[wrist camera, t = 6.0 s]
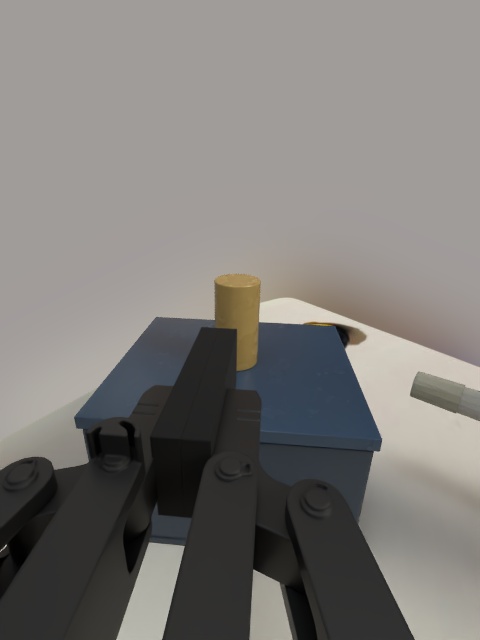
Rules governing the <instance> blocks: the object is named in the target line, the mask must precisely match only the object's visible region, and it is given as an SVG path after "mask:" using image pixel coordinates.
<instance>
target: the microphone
mask: <svg viewBox="0 0 480 640" xmlns="http://www.w3.org/2000/svg"><path fill="white" fill-rule="evenodd" d="M410 396H411V397H414V398H416V399H419V400H422V401H424V402H427V403H430V404H432V405H435V406H438V407H440V408H443V409H445V410H448V411H451V412H453V413H456V412H457V413H460V414H462V415H465V416H467V417H470V418H473V419H475V420H478V421H480V391H477V390H474V389H471V388H467V387H465V385H463V384H459V383H456V382H453V381H449V380H446V379H443V378H439V377H436V376H433V375H430V374H426V373H423V372H420V371H419V372H418V373H417V374H416V377H415V379H414V382H413V385H412V388H411V393H410Z"/></svg>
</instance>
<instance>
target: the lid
mask: <svg viewBox="0 0 480 640" xmlns="http://www.w3.org/2000/svg"><path fill="white" fill-rule="evenodd" d="M214 282H215V320H202V319H181V318H162V317H156V318H155V319H154V320H153V321H152V323H151V324H150V325H149V326H148V328H147V329H146V330H145V331H144V332H143V334H142V335H141V336H140V337H139V339H138V340H137V341H136V342H135V344H134V345H133V346H132V347H131V348H130V350H129V351H128V352H127V353H126V354H125V356H124V357H123V358H122V359H121V361H120V362H119V363H118V364H117V365H116V367H115V368H114V369H113V370H112V372H111V373H110V374H109V375H108V376H107V378H106V379H105V380H104V381H103V383H102V384H101V385H100V386H99V387H98V389H97V390H96V391H95V392H94V394H93V395H92V396H91V397H90V398H89V400H88V401H87V402H86V403H85V405H84V406H83V407H82V408H81V409H80V411H79V412H78V413H77V414H76V416H75V417H74V419H75V424H76V428H78V429H90V428H91V427H92V426H93V425H95V424H96V423H98V422H100V421H102V420H105V419H109V418H112V417H126V418H129V416H130V415H131V414H132V411H133V410H134V408H135V406H136V405H137V403H138V401H139V400H140V398H141V396H142V395H143V393H144V392H146V391H147V390H148V389H150V388H151V387H152V386H154V385H164V386H174V384H175V382H176V380H177V378H178V376H179V374H180V372H181V369H182V367H183V365H184V363H185V361H186V359H187V357H188V355H189V353H190V350H191V348H192V346H193V344H194V342H195V340H196V338H197V336H198V334H199V331H200V329H201V327H210V328H229V329H237V373H236V389H240V390H255V391H257V393H258V395H259V396H260V398H261V400H262V406H261V426H260V442H262V443H276V444H289V445H302V446H315V447H328V448H341V449H354V450H368V451H380V448H381V443H382V438H381V436H380V433H379V431H378V428H377V426H376V424H375V421H374V419H373V416H372V414H371V412H370V409H369V407H368V404H367V402H366V400H365V397H364V395H363V392H362V390H361V388H360V385H359V383H358V380H357V378H356V376H355V373H354V371H353V368H352V366H351V363H350V361H349V359H348V356H347V354H346V351H345V349H344V347H343V344H342V342H341V339H340V337H339V335H338V332H337V330H336V327H335V326H320V325H300V324H281V323H261V322H259V306H260V279H259V278H257V277H254V276H250V275H245V274H228V275H223V276H220V277H217V278H216V279H215V281H214Z"/></svg>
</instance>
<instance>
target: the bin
mask: <svg viewBox="0 0 480 640" xmlns="http://www.w3.org/2000/svg"><path fill="white" fill-rule="evenodd" d="M88 430H89V429H83V434H84V439H85V444H86V449H87V454H88V459H89V461H90V459H91V458H90V453H89V448H88V443H87V438H86V433H85V432H87V431H88ZM373 453H374V451H368V450H354V449H341V448H328V447H315V446H302V445H289V444H276V443H262V442H260V446H259V461H260V464H261V466H262V468H263V470H264V471H265V472H266V473H267V474H268V475H269V476H270V477H272V478H273V479H275V480H277V481H279V482H281V483H284V484H286V485H289V486H291V487H292V486H293V485H294V484H295V483H296V482H298V481H301V480H304V479H319V480H321V481H324V482H327V483H329V484H331V485H332V486H333V487H335V488H336V489H338V490H339V491H340V493H341V494H342V496H343V497H344V498H345V500H346V502H347V504H348V506H349V508H350V510H351V512H352V514H353V516H354V518H355V520H356V522H357V524H358V521H359V516H360V512H361V507H362V503H363V498H364V493H365V489H366V484H367V480H368V475H369V471H370V466H371V462H372V457H373ZM191 519H192V518H183V517H172V516H162V515H158V509H157V503H156V505H155V508H154V511H153V514H152V517H151V520H152V533H151V538H150V541H149V542H157V543H167V544H177V545H185V544H186V540H187V535H188V531H189V527H190V523H191Z"/></svg>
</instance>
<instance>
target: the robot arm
mask: <svg viewBox="0 0 480 640" xmlns="http://www.w3.org/2000/svg"><path fill="white" fill-rule="evenodd" d="M236 373H237V329H229V328H210V327H201V329H200V331H199V334H198V336H197V338H196V340H195V342H194V344H193V346H192V348H191V350H190V353H189V355H188V357H187V359H186V361H185V363H184V365H183V367H182V369H181V372H180V374H179V376H178V378H177V380H176V382H175V384H174V386H164V385H154V386H152V387H151V388H150V389H148V390H147V391H146V392H144V393H143V395H142V396H141V398H140V400H139V401H138V403H137V405H136V406H135V408H134V410H133V411H132V414H131V415H130V416H129V418H126V417H112V418H109V419H105V420H102V421H100V422H98V423H96V424H95V425H93V426H92V427H91V428H90V429H89V430H88V431H87V432H85V433H86V438H87V443H88V448H89V453H90V458H91V459H90V461H89V462H88V463H87V464H84V465H80V466H76V467H70V468H64V469H58V470H54V469H53V466H52V463H51V461H49V460H47V459H46V458H42V457H30V458H24V459H21V460H19V461H16V462H14V463H11V464H10V465H8V466H7V467H5V468H4V469H2V470H1V471H0V550H1V549H2V548H3V547H4V546H5V545H6V544H7V547H6V548H5V549H4V550H2V551H1V552H0V640H116V639H117V636H118V633H119V630H120V627H121V624H122V621H123V618H124V615H125V612H126V609H127V606H128V603H129V600H130V597H131V594H132V591H133V588H134V585H135V582H136V579H137V576H138V573H139V570H140V567H141V564H142V561H143V558H144V555H145V552H146V549H147V546H148V543H149V541H150V538H151V533H152V520H151V517H152V514H153V511H154V508H155V505H156V503H157V509H158V515H162V516H172V517H183V518H192V519H191V523H190V527H189V531H188V535H187V540H186V544H185V548H184V552H183V556H182V560H181V564H180V569H179V573H178V577H177V581H176V585H175V589H174V593H173V598H172V602H171V606H170V610H169V614H168V618H167V622H166V627H165V631H164V635H163V639H162V640H249V636H250V618H251V599H252V581H253V569H254V570H256V571H258V572H260V573H262V574H264V575H266V576H268V577H270V578H272V579H274V580H276V581H278V582H280V586H281V590H282V595H283V599H284V603H285V608H286V612H287V616H288V620H289V625H290V629H291V633H292V638H293V640H415V639H414V637H413V635H412V633H411V631H410V629H409V627H408V625H407V623H406V621H405V619H404V617H403V615H402V613H401V611H400V609H399V607H398V605H397V603H396V601H395V599H394V597H393V595H392V593H391V591H390V589H389V587H388V585H387V583H386V580H385V578H384V576H383V574H382V572H381V570H380V568H379V566H378V564H377V562H376V560H375V558H374V556H373V554H372V552H371V550H370V548H369V546H368V544H367V542H366V540H365V538H364V536H363V534H362V532H361V530H360V528H359V526H358V524H357V522H356V520H355V518H354V516H353V514H352V512H351V510H350V508H349V506H348V504H347V502H346V500H345V498H344V497H343V496H342V494H341V493H340V491H339V490H338V489H336V488H335V487H333V486H332V485H331V484H329V483H327V482H324V481H321V480H319V479H304V480H301V481H298V482H296V483H295V484H294V485H293V486H292V487H291V486H289V485H286V484H284V483H281V482H279V481H277V480H275V479H273V478H272V477H270V476H269V475H268V474H267V473H266V472H265V471H264V470H263V468H262V466H261V464H260V461H259V446H260V426H261V406H262V400H261V398H260V396H259V395H258V393H257V391H255V390H240V389H236Z"/></svg>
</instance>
